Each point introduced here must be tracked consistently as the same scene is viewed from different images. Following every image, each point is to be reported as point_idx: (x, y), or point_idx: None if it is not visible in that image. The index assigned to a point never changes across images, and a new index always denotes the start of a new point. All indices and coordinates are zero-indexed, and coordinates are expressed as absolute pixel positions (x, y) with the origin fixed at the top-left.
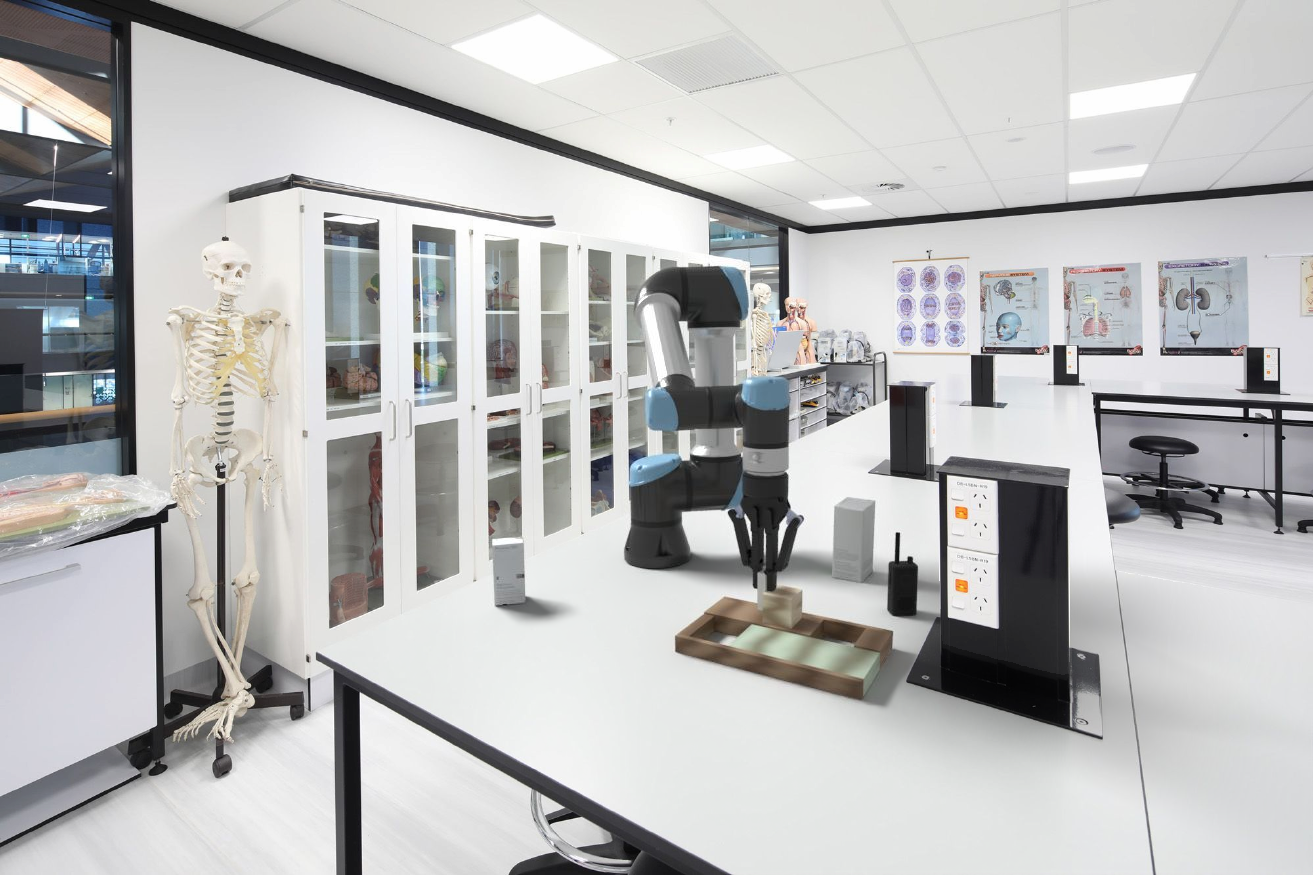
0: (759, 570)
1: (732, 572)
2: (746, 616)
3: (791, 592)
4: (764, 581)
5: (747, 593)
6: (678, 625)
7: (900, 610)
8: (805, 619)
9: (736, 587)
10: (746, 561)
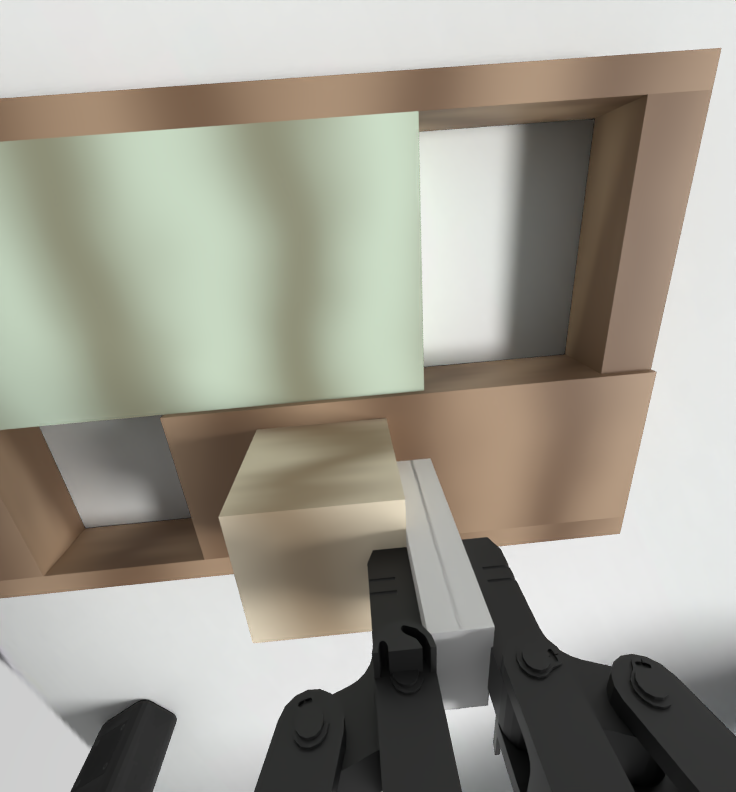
0: (494, 657)
1: None
2: (471, 431)
3: (277, 591)
4: (423, 581)
5: (562, 624)
6: (710, 318)
7: (121, 724)
8: None
9: (606, 638)
10: (644, 703)
